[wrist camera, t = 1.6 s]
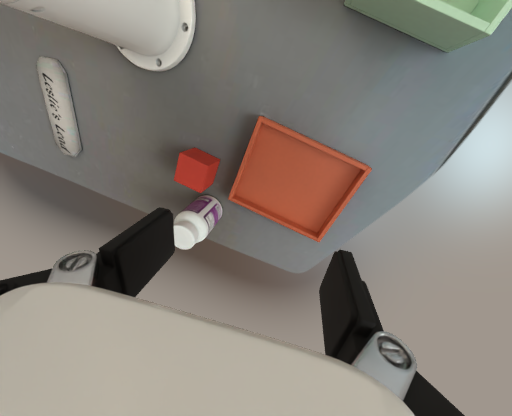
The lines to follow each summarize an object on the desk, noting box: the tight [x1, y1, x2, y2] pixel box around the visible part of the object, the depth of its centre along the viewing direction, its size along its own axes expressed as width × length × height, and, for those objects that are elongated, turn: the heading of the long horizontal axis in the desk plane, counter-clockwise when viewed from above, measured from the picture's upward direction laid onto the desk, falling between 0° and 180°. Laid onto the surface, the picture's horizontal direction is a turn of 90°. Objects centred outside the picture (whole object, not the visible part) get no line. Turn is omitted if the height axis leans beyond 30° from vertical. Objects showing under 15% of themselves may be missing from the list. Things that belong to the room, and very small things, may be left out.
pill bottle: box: [174, 195, 222, 249], centre depth 32 cm, size 5×5×10 cm
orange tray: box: [228, 116, 372, 242], centre depth 30 cm, size 16×13×2 cm
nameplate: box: [36, 56, 82, 157], centre depth 34 cm, size 15×1×5 cm
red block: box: [174, 148, 220, 193], centre depth 31 cm, size 4×4×4 cm
